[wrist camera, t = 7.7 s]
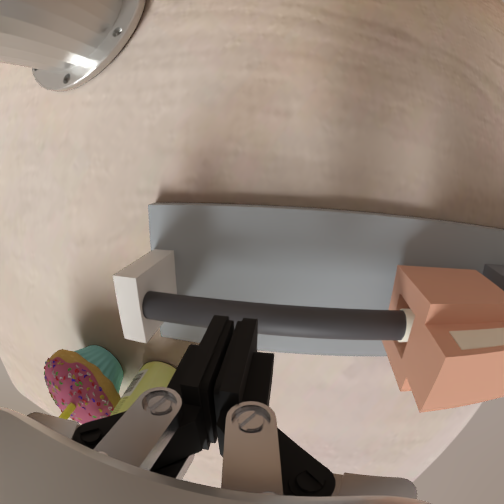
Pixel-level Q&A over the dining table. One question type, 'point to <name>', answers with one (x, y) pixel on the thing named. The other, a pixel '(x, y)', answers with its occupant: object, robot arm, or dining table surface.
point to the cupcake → (84, 382)
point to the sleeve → (448, 337)
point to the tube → (145, 383)
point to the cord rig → (290, 273)
